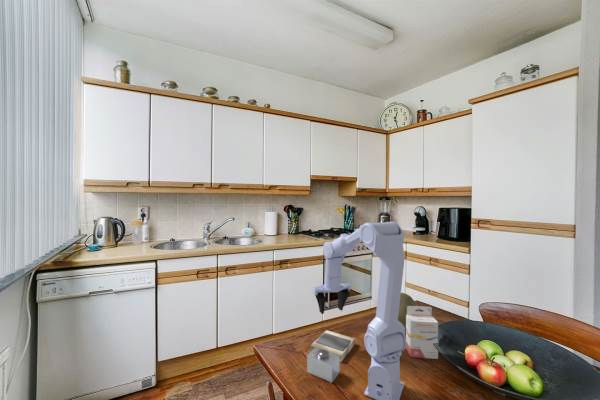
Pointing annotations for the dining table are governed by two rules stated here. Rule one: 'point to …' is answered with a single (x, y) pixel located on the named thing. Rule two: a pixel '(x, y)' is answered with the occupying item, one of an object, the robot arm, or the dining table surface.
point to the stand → (334, 344)
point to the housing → (323, 364)
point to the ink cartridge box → (421, 332)
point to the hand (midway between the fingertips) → (331, 310)
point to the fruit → (404, 308)
